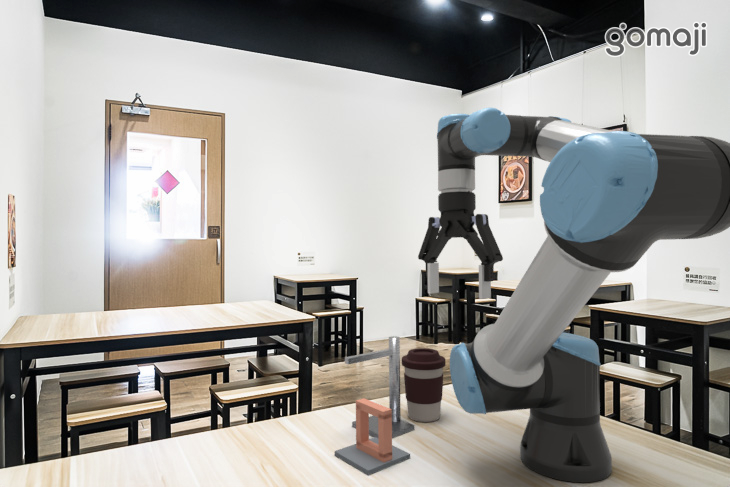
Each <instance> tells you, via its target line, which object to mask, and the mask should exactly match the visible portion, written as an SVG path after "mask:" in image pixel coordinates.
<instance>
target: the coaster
mask: <svg viewBox="0 0 730 487" xmlns="http://www.w3.org/2000/svg"><path fill="white" fill-rule="evenodd" d="M369 440H370V441H372V442H374V443H376V444H378V445H379V439H378V438H376V437H372V438H369ZM334 457H337V458H339V459H340V460H342V461H344V462H345V463H347V464H348V465H351V466H352V467H353V468H356V469H357V470H358V471H361V472H363V474H365V475H367V476H370V475H373V474H375V473H378V472H379V471H382V470H384V469H387V468H390V467H392V466H395V465H397V464H399V463H402V462H405V461H406V460H409V459H411V453H410V452H407V451H406V450H404V449H401V448H399V447H397V446H395V445H393V444H392V460H389V461H387V462H382V461H380V460H378V459H376V458H374V457H373V456H371V455H369V454H367V453H365V452H363V451H361V450H359V449H358V448H356V443H354V444H351V445H348V446H346V447H342V448H340V449H337V450H334Z"/></svg>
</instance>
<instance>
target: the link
mask: <svg viewBox="0 0 730 487" xmlns="http://www.w3.org/2000/svg"><path fill="white" fill-rule="evenodd" d="M370 416H376V417H378V438H379V445H378V444H376V443H374V442H372V441H370V440H369V439H370V435H369V417H370ZM355 421H356V428H355V429H356V430H355V432H356V433H355V442H356V443H355V444H356V448H358V449H359V450H361V451H363V452H365V453H367V454H369V455H371V456H373V457H374V458H376V459H378V460H380V461H382V462H387V461H389V460H392V445H393V438H392V409H390V408H389V407H387V406H384V405H382V404H379V403H377V402H374V401H371V400H370V399H367V398H364V397H363V398H359V399H357V400H355Z"/></svg>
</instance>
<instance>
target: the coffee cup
mask: <svg viewBox="0 0 730 487" xmlns="http://www.w3.org/2000/svg"><path fill="white" fill-rule="evenodd" d="M401 365H402V367H404V368H403V369H404V373H403V379H404V389H405V390H404V392H405V399H406V403H407V404H406V407H407V415H408V417H409V419H410V420H413V421H416V422H419V423H429V422H434V421H437V420H438V419H440V417H441V410H442V409H441V408H442V407H441V406H442V405H441V403H442V399H443V390H444V389H443V388H444V386H443V385H444V373H443V371H444V368H445V367H446V358H445V357H444V356H442V355H441V354H440V351H438V350H437V349H433V348H427V347H417V348H411V349H409V350H408V352H407V353H406V354H405V355H403V356H402V357H401Z"/></svg>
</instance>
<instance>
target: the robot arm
mask: <svg viewBox="0 0 730 487" xmlns="http://www.w3.org/2000/svg"><path fill="white" fill-rule="evenodd" d="M436 140H437V168H438V169H437V191H438V192H440V193H439V194H438V196H437V199H438V201H437V202H438V203H437V206H438V211H439V212H440V217H438V216H430V217H428V226H427V230H426V232H425V236H424V238H423V241H422V244H421V247H420V250H419V253H418V256H417V258H418V260H421V261H423V262H424V263H425V277H426V278H427V294H429V295H431V294H439V293H440V284H439V283H440V280H439V279H440V276H439V275H440V273H439V272H440V271H439V270H440V269H439V268H440V265H439V262H438V261H437V260H438V258H439V257H440V255H441V253H442V252H443V250H444V248H445V247H446V245H447V243H448V242H449V241H450V240H451V239H452V238H454V239H455V238H463V239H464V240H466V241H467V243H468V244H469V246H470V247H471V249H472V251H473V252H474V253H475V255H476V257H478V259H479V260H480V261H481V263H480V264H479V265H478V299H479V300H487V299H492V291H491V290H492V287H491V286H492V283H491V282H493V281H494V279H495V278H494V277H495V275H494V272H495V271H494V270H495V269H494V265H495V264H496V263H499V262H502V261H503V260H504V258H503V254H502V253H501V250H500V248H499V247H500V246H498V243H497V241H496V238H495V236H494V234H493V231H492V229H491V227H490V223H489V214H486V213H485V214H484V213H476V214H475V213H474V212H475V211H476V207H477V205H476V194H475V192H473V191H475V190H476V158H477V157H480V156H499V157H502V156H504V157H529V158H530V157H531V158H532V157H533V158H536V159H540V160H542V161H545V162H548V163H549V164H548V166H547V168H546V170H545V172H544V175H543V178H542V181H541V185H540V186H541V187H542V188H543V192H542V193H540V194H539V206H540V207H539V208H540V213H541V217H542V219H543V226H544V229H545V232H546V234H547V236H546V237H545V239H544V242H543V243H542V244H541V247H540V248H539V250H538V251H537V253H536V255H535V256H534V258H533V260H531V262H530V264H529V266H528V268H527V269H526V271H525V272H524V275H523V276H522V278H521V280H520V281H519V283H518V285H517V286H516V288H515V290H514V291H513V293H512V295H511V296H510V297H509V300H508V301H507V302H506V304H505V306H504V307H503V310H502V311H501V313H499V314H500V315H499V316H498V317H497V319H496V321H495V323H491V324H488V325H486V326H483V328H481V329H480V330H479V331H478V332H477V334H476V336H475V337H474V338H473V341H472V342H470V343H465V342H461V343H459V344H458V343H457V344H455V345H454V346H452V348H451V349H450V354H449V372H450V373H449V374H450V378H451V384H452V389H453V392H454V394H455V397H456V400H457V403H458V404H459V405H460V408H462V409H463V411H465V412H466V413H468V414H470V415H471V414H473V415H475V414H479V415H480V414H483V415H487V414H488V413H499V412H500V413H501V412H510V411H522V410H529V417H528V420H527V423H526V426H525V429H524V432H523V435H522V438H521V441H520V446H519V452H520V453H519V454H520V455H519V456H520V459H521V461H522V463H523V464H524V465H525V466H526V467H527V468H528V469H530V470H532V471H534V472H536V473H537V474H540V475H542V476H545V477H548V478H552V479H555V480H559V481H564V482H573V483H591V482H592V483H593V482H599V481H602V480H604V479H607V478H608V477H609V476H610V475H611V474H612V470H613V469H612V467H613V466H612V465H613V463H612V462H613V458H612V453H611V451H610V448H609V445H608V443H607V439H606V437H605V434H604V431H603V428H602V425H601V413H600V412H601V411H600V410H601V408H600V407H601V402H600V401H601V400H600V398H601V397H600V396H601V395H600V393H601V392H600V391H601V390H600V386H601V385H600V384H601V383H600V381H601V379H600V374H601V370H600V369H601V365H602V364H601V362H600V353H599V346H598V345H597V343H596V342H595V341H594V340H593V339H591V338H588V337H586V336H583V335H578V334H574V333H569V332H565V330H566V329H567V328H568V326H569V325H570V324H571V323H572V321H573V320H574V319H575V318H576V316H577V315H578V314H579V313H580V312H581V311H582V309H583V308H584V307H585V305H586V304H587V303H588V301H589V300H590V299H591V298H592V296H594V294H595V293H596V292H597V290H598V289H599V288H600V287H601V285H602V284H603V283H604V282H605V280H606V279H607V278H608V277H609V275H610V274H611V273H621V272H622V273H623V272H626V271H627V270H630V269H632V268H633V267H634V266H636V264H637V263H638V262H639V261H640V260H641V259H642V257H643V256H644V255H645V254H646V252H647V251H648V250H649V249H650V248H651V247H652V245H654V243H656V242H658V241H660V240H695V239H703V238H706V237H707V238H708V237H711V236H713V235H718V234H719V233H723V232H724V231H726V230H727V229H730V142H728V141H726V140H722V139H719V138H715V137H712V136H711V137H710V136H704V135H671V134H670V135H668V134H646V133H636V132H631V131H626V130H610V129H606V128H599V127H595V126H591V125H586V124H581V123H577V122H572V121H571V120H570V119H568V118H564V117H560V116H536V115H534V116H531V115H519V114H518V115H517V114H516V115H515V114H505V112H502V111H501V110H499V109H498V108H496V107H484V108H482V109H479V110H476V111H474V112H472V113H470V114H469V113H452V114H448V115H444V116H442V117H441V118H439V120H438V122H437V132H436ZM474 226H476V229H477V231H476V229H475V228H474ZM478 235H479V236H478Z"/></svg>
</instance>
